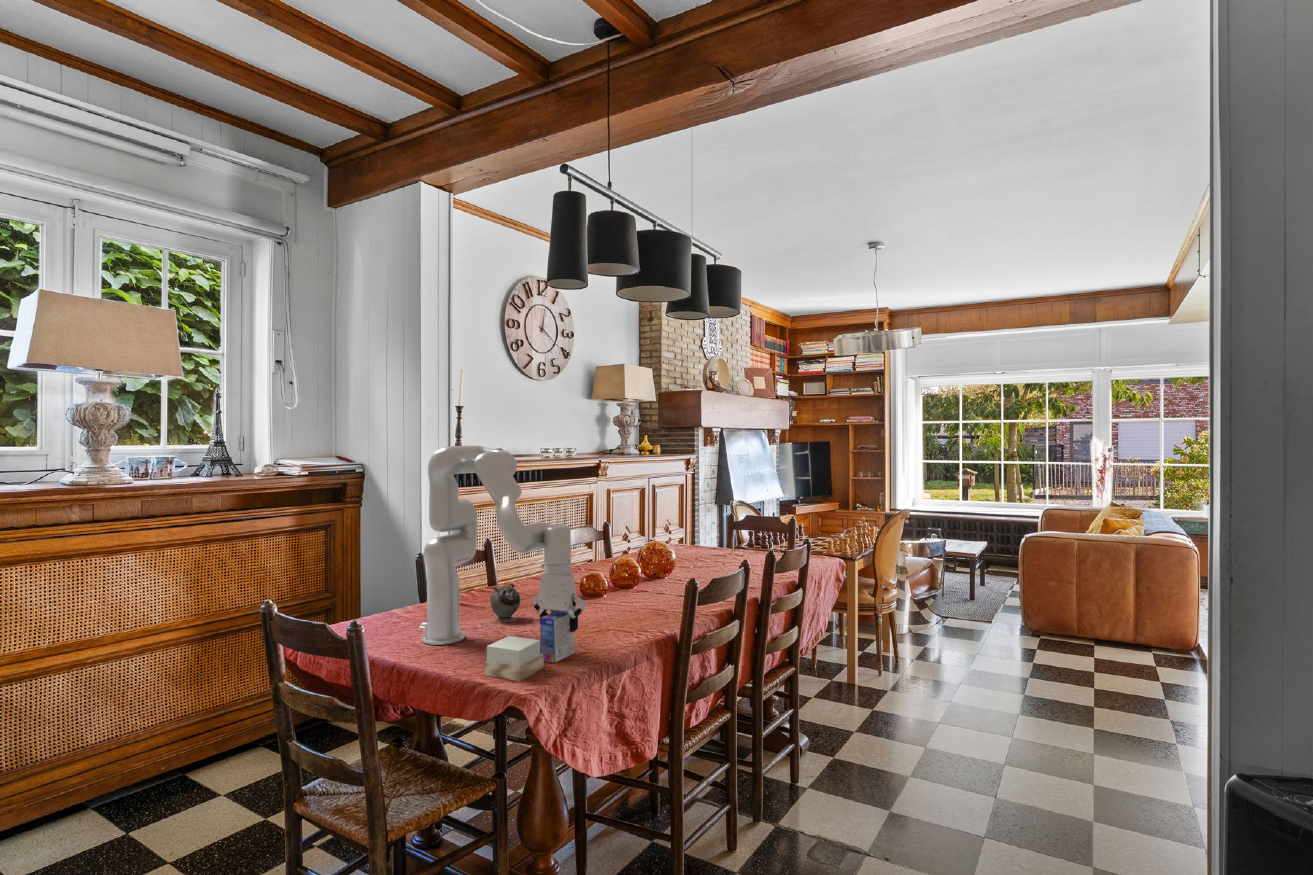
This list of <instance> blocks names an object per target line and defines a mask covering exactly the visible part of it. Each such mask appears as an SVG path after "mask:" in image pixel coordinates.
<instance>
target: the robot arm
mask: <svg viewBox="0 0 1313 875" xmlns="http://www.w3.org/2000/svg"><path fill="white" fill-rule="evenodd" d="M517 468H518V463H517V460H516V458H515V456H514V455H513V454H512V453H510V451H507V450H501V449H496V448H492V447H486V446H481V445H450V446H445V447H442V448H440V449H438V450H436V451H435V452H434V453H433V454H432V455H431V457H430V458H429V461H428V467H427V474H428V476H427V477H428V482H429V494H428V495H429V496H428V498H429V499H428V500H429V502H428V522H429V526H430V528H431V529H432V530H433V531H434V532H437V533H447V532H451V534H445V535H441V536H438V537H435V538H432V539H431V540H430V541H428V542H427V543H426V544H425V546H424V548H423V561H424V567H425V570H426V592H427V593H426V598H427V600H426V601H427V602H426V608H427V609H426V610H427V611H426V615H427V617H426V618H427V619H426V620H427V621H426V622H425V621H424V622H422V623H421V624H420V625H419V627H418V631H424V634H423V635H422V637H421V642H422V643H424V644H427V645H433V646H440V645H441V646H442V645H449V644H450V645H451V644H456V643H458V642H460V641H463V640H464V639H465V636H466V633H465V631H463V630H460V628H461V627H460V626H461V624H460V621H461V620H460V617H461V616H460V615H461V614H460V611H461V610H460V609H461V608H460V601H461V600H460V599H461V598H460V592H461V591H460V576H459V575H458V572H457V570H456V567H455V566H456V565H460V564H464V563H467V562H469V561H471V560H472V559H473V558H474V556H475V555H476V552H477V545H478V543H477V541H478V515H477V514H478V513H477V510H476V508H475V505H474V504H473V503H472V502H471V501H470V500H467V499H466V498H459V485H458V482H457V479H456V477H455V475H458V474H459V475H460V474H472V473H474V474H476V476H477V478H478V480H480V482H481V483H482V485H483V486H484V488H485V490H486V491H487V493H488V494H489V496H490V498H491V499H492V501H493V502H494V504H495V506H496V509H495V511H496V512H495V515H496V516H495V517H496V520H497V521H496V523H497V525H498V526H497V527H498V529H499V531H500V533H501V534H502V537H503V538H504V539H505V541H506V542H507V543H508V545H509V546H510V547H511V548H512V549H513V550H514V551H516V552H517V553H519V554H520V553H521V554H526V553H529V552H533V551H538V550H542V549H543V552H544V553H543V554H544V555H543V556H544V557H543V560H544V561H543V563H541V568H540V569H543V572H544V573H541V578H540V582H539V589H538V590H539V592H538V594H537V595H535V596H533V597H532V598H531V602H532V604H533V608H534V609H535V611H537V615H539V619H540V618H541V617H543V616H546V615H548V614H549V612H547V611H550V610H552V611H562V612H565V611H568V613H569V614H570V616H571V618H570V619H569V623H570V632H574V633H575V632H576V631H577V630H578V629H579V617H580V615H581V614H582V612H584V608H585V607H586V604H587V602H586V601H585V600H584V599H582V598H581V597H579V596H578V595H577V589H576V581H575V576H574V573H572V535H571V534H572V533H571V532H572V531H571V528H570V526H568V525H566V524H550V523H545V522H536V523H530V524H525V523H523V521H522V520H521V517H520V515H519V514H518V513H517V510H516V502H517V500H519V498H520V496H521V495H522V492H523V491H522V488H521V486H520V484H519V483H518V482H517V481H516V479H515V477H514V475H515V474H516V473H517ZM577 605H578V608H577Z"/></svg>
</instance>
